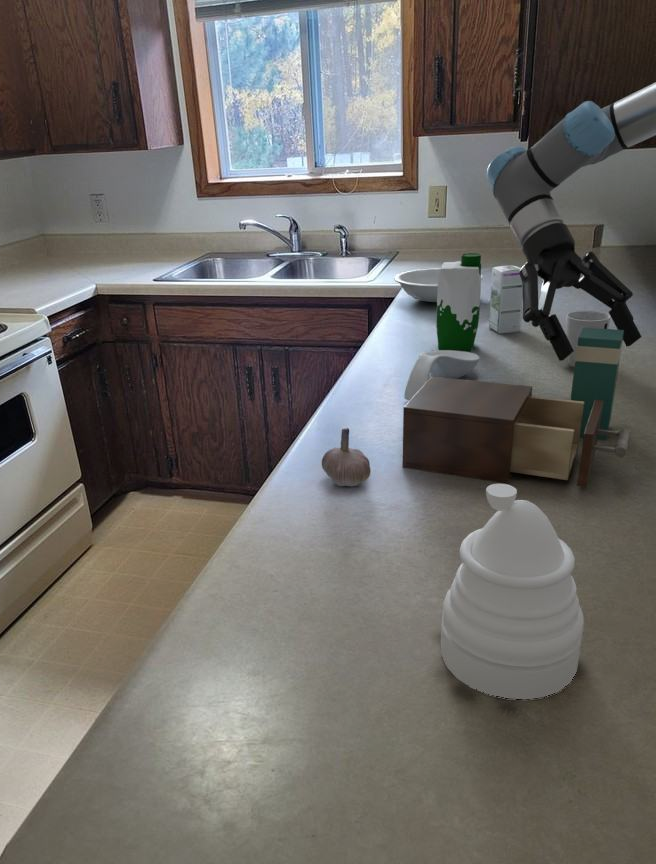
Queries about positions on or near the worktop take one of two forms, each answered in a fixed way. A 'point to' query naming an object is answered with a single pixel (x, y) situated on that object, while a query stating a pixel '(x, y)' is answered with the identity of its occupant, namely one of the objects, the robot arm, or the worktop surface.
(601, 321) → the cup
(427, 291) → the soup bowl
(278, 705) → the worktop surface
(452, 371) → the spoon rest
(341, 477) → the garlic bulb
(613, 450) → the drawer
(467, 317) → the milk carton
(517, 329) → the syrup box
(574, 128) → the robot arm
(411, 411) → the cabinet
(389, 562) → the worktop surface
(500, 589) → the honey pot
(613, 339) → the carton
